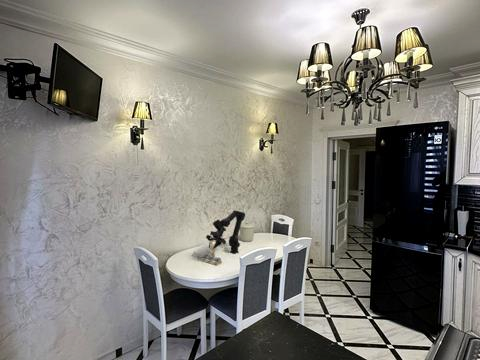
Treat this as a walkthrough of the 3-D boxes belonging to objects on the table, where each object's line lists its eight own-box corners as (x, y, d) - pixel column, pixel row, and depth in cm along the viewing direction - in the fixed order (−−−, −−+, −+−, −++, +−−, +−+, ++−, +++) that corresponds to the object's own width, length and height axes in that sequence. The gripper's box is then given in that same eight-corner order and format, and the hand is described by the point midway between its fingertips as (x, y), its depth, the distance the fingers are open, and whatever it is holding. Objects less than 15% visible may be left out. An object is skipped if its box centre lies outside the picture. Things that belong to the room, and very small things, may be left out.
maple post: (214, 255, 223) (214, 240, 222) (215, 256, 219) (215, 241, 219) (209, 255, 222) (209, 240, 221) (210, 257, 218) (210, 241, 217)
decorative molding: (215, 249, 266) (206, 245, 268) (216, 244, 265) (207, 241, 267) (202, 260, 233) (192, 256, 235) (203, 255, 232) (193, 251, 234)
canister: (255, 238, 295) (255, 219, 294) (254, 243, 277) (255, 223, 276) (239, 237, 297) (239, 219, 296) (237, 242, 279) (238, 222, 278)
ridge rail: (202, 261, 223) (202, 255, 223) (207, 259, 228) (207, 253, 228) (217, 265, 214) (217, 259, 214) (221, 263, 219) (221, 257, 219)
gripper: (207, 225, 228) (198, 241, 219) (224, 229, 217) (215, 245, 209) (213, 232, 235) (204, 248, 226) (229, 236, 224) (221, 252, 216)
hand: (211, 248), depth 219 cm, fingers open, 4 cm apart
